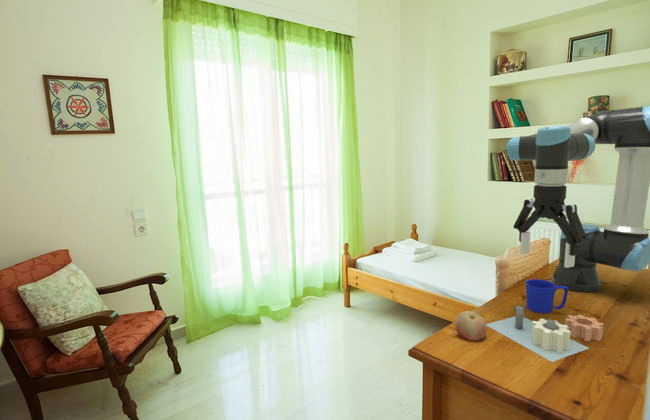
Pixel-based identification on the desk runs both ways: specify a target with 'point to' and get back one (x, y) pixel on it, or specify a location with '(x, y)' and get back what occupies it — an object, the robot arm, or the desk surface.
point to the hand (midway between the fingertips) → (545, 259)
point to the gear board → (521, 333)
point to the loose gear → (584, 327)
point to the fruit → (470, 326)
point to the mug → (542, 295)
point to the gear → (550, 336)
